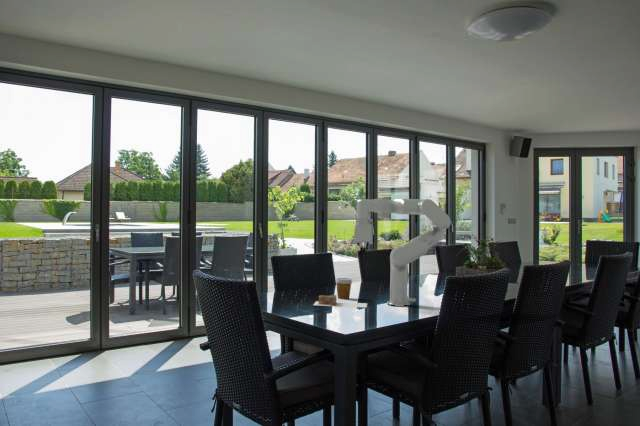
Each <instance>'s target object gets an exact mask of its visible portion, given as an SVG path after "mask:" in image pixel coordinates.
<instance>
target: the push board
mask: <svg viewBox="0 0 640 426" xmlns="http://www.w3.org/2000/svg"><path fill="white" fill-rule="evenodd" d="M313 306H318V307H319V306H321V307H322V306H323V307H341V308H342V307H344V308H345V307H348V308H367V307H368V303H367V302H366V303H365V302H364V303H362V302H346V301H345V302H343V301H342V302H341V301H340V302H339V301H336V304H335V305H329V304H319V300H318V301H317V300H315V302H314V303H313Z"/></svg>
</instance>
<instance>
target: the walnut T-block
mask: <svg viewBox="0 0 640 426" xmlns="http://www.w3.org/2000/svg"><path fill="white" fill-rule="evenodd" d="M318 301H319V304H329V305H335V304H336V302H337V295H336V294H330V295H319V296H318Z"/></svg>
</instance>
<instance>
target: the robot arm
mask: <svg viewBox="0 0 640 426" xmlns="http://www.w3.org/2000/svg"><path fill="white" fill-rule="evenodd" d="M371 213H376V214H379V213H380V214H382V213H383V214H397V215H416V216H418V215H420V216H422V215H423V216H426V218H428V220H429V221H430V222H431V225H430V228H429V229H428V230H427V231H424V232H423V233H421V234H419V235H418V236H416V237H412V239H410V240H409V241H408V243H407V244H404V245H403V246H395V248H393V249H392V250H391V252H390V255H389V262H390V263H389V264H390V265H389V266H390V273H389V274H390V278H389V280H390V282H389V300H387V301H386V303H387V305H388V304H389V305H388V306H391V305H395V306H394V307H405V306H404V305H409V306H410V305H411V303H416V302H417V298H413V297H409V296H408V287H409V286H408V285H409V283H408V282H409V277H408V276H409V270H408V269H409V264H410V263H412V262H413V263H414V261H416V260H418V259H420V258H421V257H423V256H425V255H426V254H427V253H428V250H429V249H430V248H431V247H433V246H434V245H436V244H438V243H439V242H440V241H441V240H442V239H443V238H444V235H445V233H446V230H447V229H449V227H450V226H451V223H452V220H451V218H450V216H449V215H448V214H447V213H446V212H445V211H444V210H443V209H442V208H441V207H440V206H439V205H438V204H436V203H435V202H434V200H432V199H429V198H426V199H425V198H424V199H422V198H421V199H420V198H419V199H417V198H415V199H414V198H397V199H380V198H374V199H368V198H360V199H357V201H356V223H355V224H354V229H353V230H354V231H353V232H354V233H353V242H352V243H353V244H355V245H358V247H359V248H360V249H359V254H360V255H361V256H363V255H364V256H365V254H366V252H367V250H366V249H367V247H368V246H370V245H373V244H374V243H373V239H374V238H373V225H372V223H373V222H374V219H372V218H371ZM362 243H364V244H362Z"/></svg>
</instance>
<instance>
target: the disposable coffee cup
mask: <svg viewBox="0 0 640 426" xmlns="http://www.w3.org/2000/svg"><path fill="white" fill-rule="evenodd" d="M335 283H336V292H337V293H336V294H337V299H339V300H349V299H350V294H351V290H352V289H351V287H352V283H353V281H352V278H349V277H347V278H346V277H339V278H336V280H335Z"/></svg>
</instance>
